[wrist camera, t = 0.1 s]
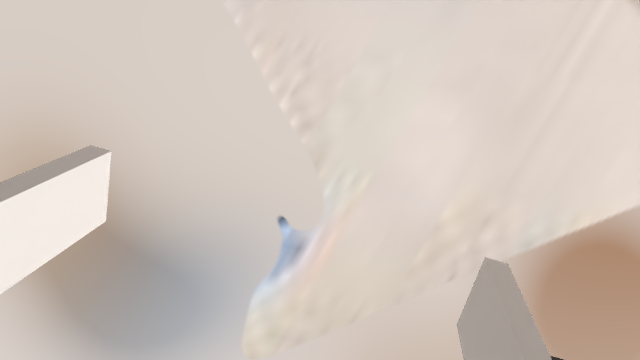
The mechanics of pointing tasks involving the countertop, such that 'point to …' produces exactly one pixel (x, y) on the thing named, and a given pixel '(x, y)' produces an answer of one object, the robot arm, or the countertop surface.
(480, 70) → the countertop surface
